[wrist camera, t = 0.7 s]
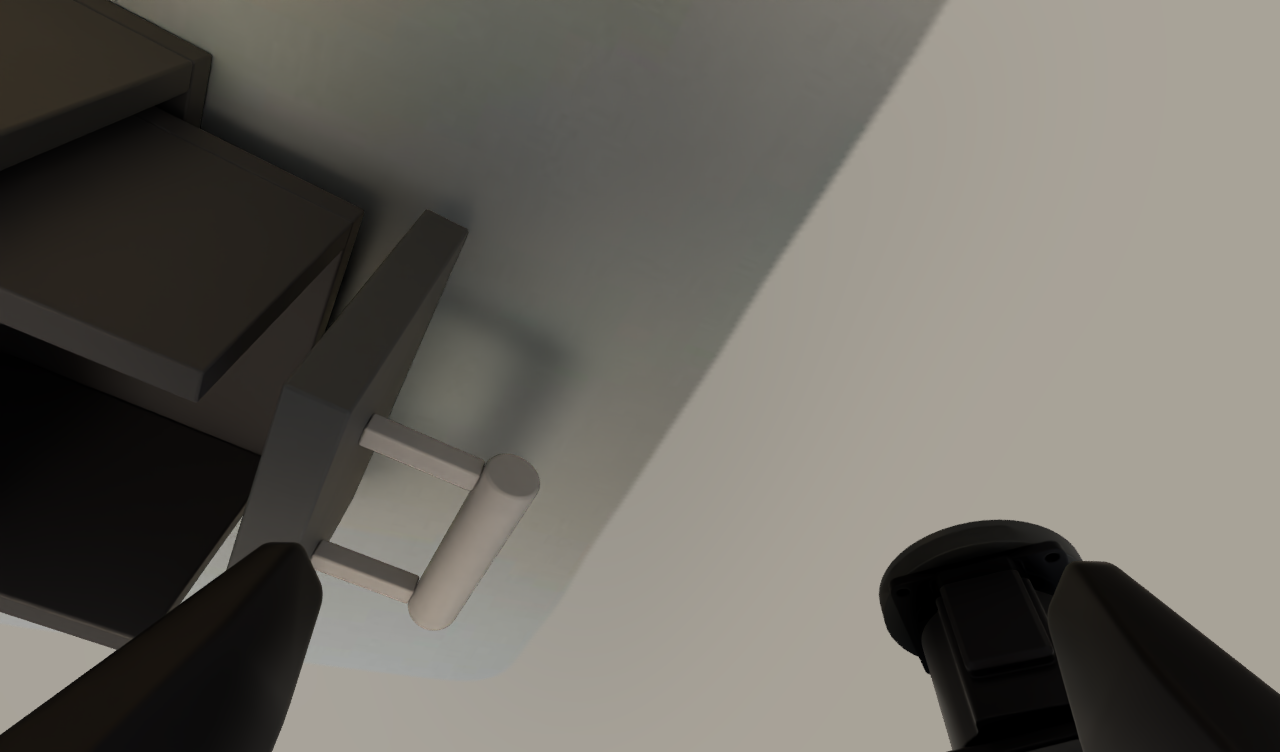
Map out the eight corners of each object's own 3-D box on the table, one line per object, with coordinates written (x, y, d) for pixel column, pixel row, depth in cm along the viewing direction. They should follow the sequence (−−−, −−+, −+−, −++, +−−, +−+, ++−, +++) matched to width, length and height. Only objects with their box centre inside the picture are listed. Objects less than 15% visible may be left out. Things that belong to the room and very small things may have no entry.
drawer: (612, 301, 20) (570, 507, 13) (467, 541, 26) (390, 761, 19) (-107, -64, 16) (-667, -22, 9) (-78, 323, 22) (-402, 511, 15)
